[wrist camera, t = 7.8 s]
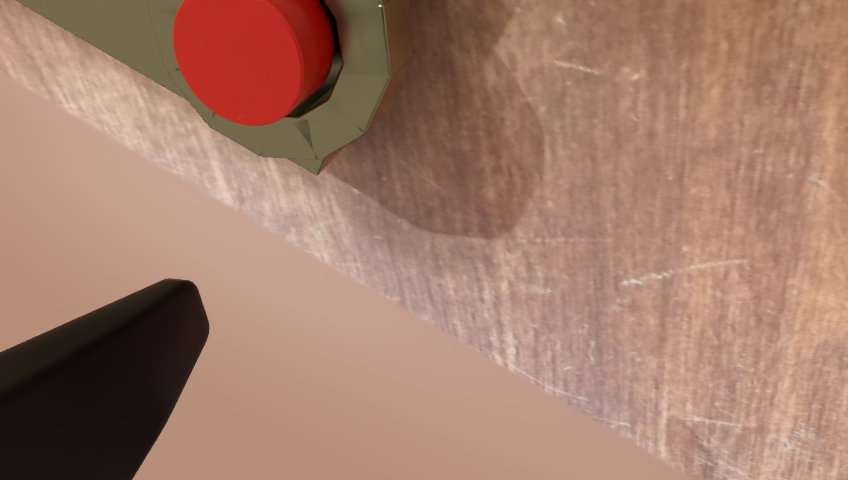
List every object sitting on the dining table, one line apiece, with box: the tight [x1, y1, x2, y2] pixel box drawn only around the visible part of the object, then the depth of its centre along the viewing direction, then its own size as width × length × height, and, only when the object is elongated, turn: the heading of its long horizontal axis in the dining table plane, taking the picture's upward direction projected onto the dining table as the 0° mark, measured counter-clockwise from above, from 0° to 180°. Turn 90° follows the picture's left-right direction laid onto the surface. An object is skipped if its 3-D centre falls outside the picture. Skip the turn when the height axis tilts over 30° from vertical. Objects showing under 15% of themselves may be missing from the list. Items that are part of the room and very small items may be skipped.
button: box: [173, 0, 334, 126], centre depth 16 cm, size 3×3×2 cm
